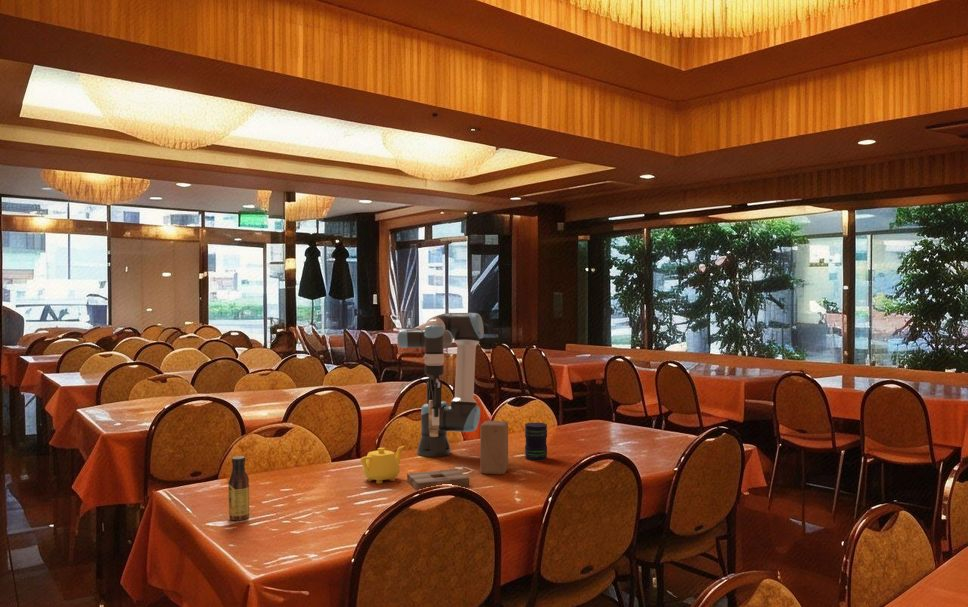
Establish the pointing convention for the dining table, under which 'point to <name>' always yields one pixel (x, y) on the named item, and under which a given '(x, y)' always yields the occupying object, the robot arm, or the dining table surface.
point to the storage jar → (536, 441)
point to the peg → (432, 428)
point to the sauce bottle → (238, 490)
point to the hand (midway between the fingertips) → (433, 424)
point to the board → (437, 478)
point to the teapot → (381, 465)
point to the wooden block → (494, 447)
